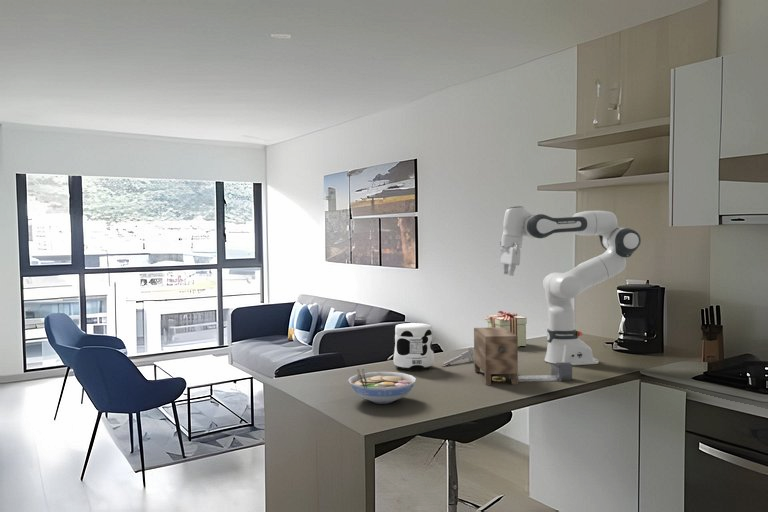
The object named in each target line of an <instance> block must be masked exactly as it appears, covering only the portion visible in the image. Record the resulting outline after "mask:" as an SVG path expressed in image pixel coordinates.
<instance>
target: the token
mask: <svg viewBox="0 0 768 512" xmlns="http://www.w3.org/2000/svg"><path fill="white" fill-rule="evenodd" d="M492 380H493V382H496V381H497V383H498V382H500V383H502V381H503V382H505V381H506V377H504V376H499V375H498V376H497V375H495V376H491V381H492Z"/></svg>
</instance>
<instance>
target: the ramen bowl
mask: <svg viewBox="0 0 768 512" xmlns="http://www.w3.org/2000/svg"><path fill="white" fill-rule="evenodd" d="M356 372H357V374H355V375H353V376H351V377H349V379H347V381H348V383H349V385H350V386H351V388H352V390H353V391H354V392H355V393H356V394H357V396H359V397H360V398H362V399H365V400H367V401H370V402H371V403H374V404H377V405H378V404H379V405H381V404H383V405H385V404H391V403H393V402H394V401H397V400H401V399H402V398H404V397H406V396H407V395H408V394H409V393H410V392H411V390H412V389H413V388H414V385H415V383H416V381H417V378H416V377H415V376H413V375H412V374H411V375H410V374H407V373H403V372H397V371H396V372H395V371H394V372H393V371H372V372H365V369H364V368H363V369H361V371H360V369H359V368H358V369H356ZM361 372H362V373H361Z"/></svg>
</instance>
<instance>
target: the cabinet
mask: <svg viewBox="0 0 768 512" xmlns="http://www.w3.org/2000/svg"><path fill="white" fill-rule="evenodd" d="M518 348H519V347H518V336H517V335H515V334H513V333H512V332H510V331H508V330H507V329H505V328H503V327H494V328H488V327H473V352H474V360H473V372H474V371H475V372H480V373H481V371H482V372H483V373H484V385H486V386H491V385H492V375H509V374H510V384H511V385H518V384H519V382H518V376H519V373H518V371H519V369H518V366H519V361H518V359H519V357H518V350H519V349H518ZM475 372H474V373H475Z"/></svg>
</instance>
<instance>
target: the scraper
mask: <svg viewBox="0 0 768 512" xmlns="http://www.w3.org/2000/svg"><path fill="white" fill-rule="evenodd" d="M550 364H551V371H550V372H551V373H550V374H551V375H550V374H545V375H544V374H540V375H536V374H535V375H532V374H531V375H518V383H519V382H554V381H555V382H556V381H557V382H559V383H562V382H563V381H573V365H572V364H571V363H569V362H565V363H556V364H555V363H550Z"/></svg>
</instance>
